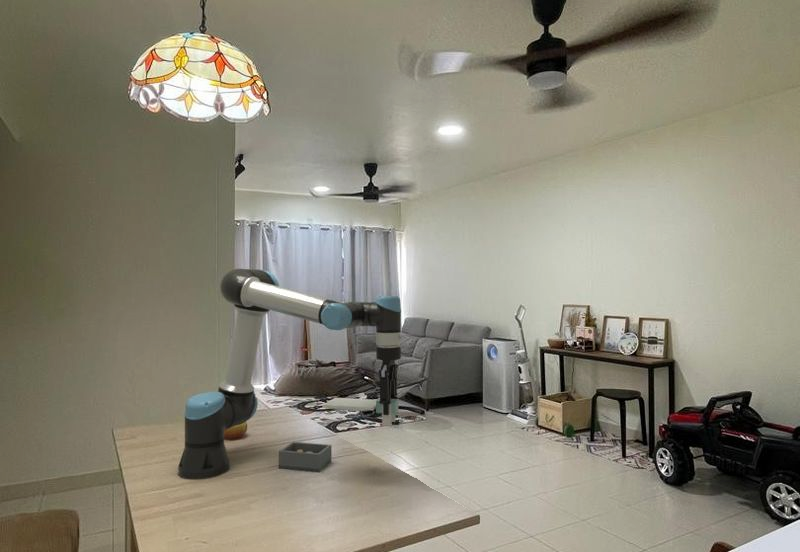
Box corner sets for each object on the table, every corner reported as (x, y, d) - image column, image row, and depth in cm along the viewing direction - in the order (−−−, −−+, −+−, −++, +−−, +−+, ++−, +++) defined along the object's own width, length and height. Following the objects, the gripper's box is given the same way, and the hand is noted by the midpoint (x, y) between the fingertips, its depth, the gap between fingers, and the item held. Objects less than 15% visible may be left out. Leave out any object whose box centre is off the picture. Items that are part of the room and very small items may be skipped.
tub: (278, 468, 158) (278, 451, 158) (292, 458, 168) (292, 441, 168) (319, 472, 155) (319, 454, 155) (331, 461, 164) (331, 444, 165)
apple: (236, 432, 198) (237, 412, 198) (252, 436, 193) (252, 416, 193) (215, 438, 190) (215, 417, 191) (230, 443, 185) (230, 421, 185)
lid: (322, 412, 150) (322, 400, 151) (335, 404, 161) (335, 393, 161) (392, 416, 145) (392, 404, 145) (401, 408, 156) (400, 396, 156)
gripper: (393, 349, 142) (393, 431, 142) (406, 343, 159) (407, 417, 158) (368, 349, 144) (368, 430, 143) (384, 343, 161) (384, 415, 160)
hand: (388, 423), depth 151 cm, fingers closed on lid, 4 cm apart
